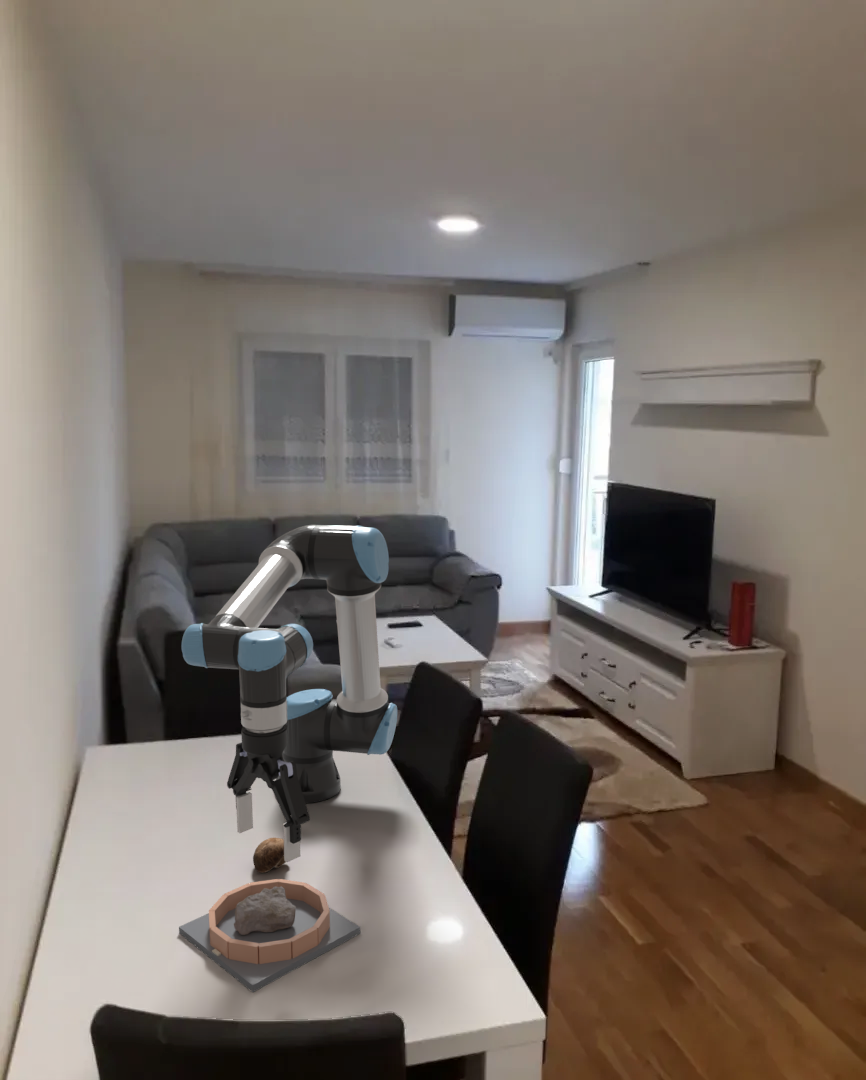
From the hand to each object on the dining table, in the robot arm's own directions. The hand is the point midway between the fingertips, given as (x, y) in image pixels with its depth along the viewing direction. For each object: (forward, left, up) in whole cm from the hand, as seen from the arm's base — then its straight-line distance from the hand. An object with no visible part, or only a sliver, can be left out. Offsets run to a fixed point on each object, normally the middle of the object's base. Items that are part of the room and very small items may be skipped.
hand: (268, 844), depth 154 cm
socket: (0, 0, -16) cm, 16 cm away
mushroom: (-13, -18, -17) cm, 28 cm away
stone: (+1, -1, -15) cm, 15 cm away
